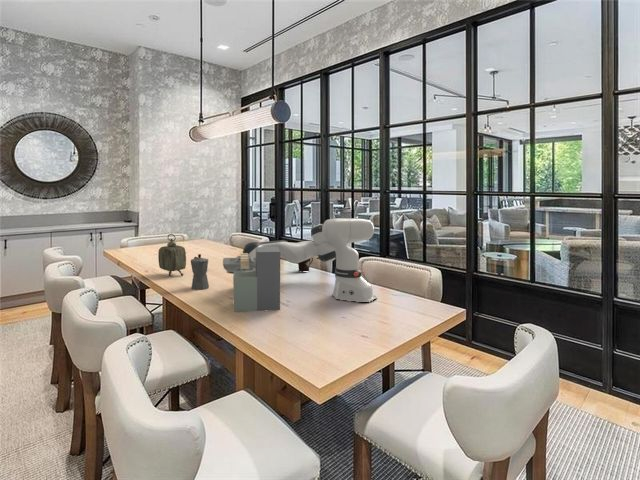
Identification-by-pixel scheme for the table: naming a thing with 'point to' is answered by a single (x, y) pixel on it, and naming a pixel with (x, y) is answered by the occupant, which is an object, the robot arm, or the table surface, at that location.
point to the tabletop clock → (172, 257)
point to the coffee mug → (304, 265)
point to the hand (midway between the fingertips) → (244, 257)
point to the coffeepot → (199, 273)
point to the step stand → (259, 283)
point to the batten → (244, 261)
